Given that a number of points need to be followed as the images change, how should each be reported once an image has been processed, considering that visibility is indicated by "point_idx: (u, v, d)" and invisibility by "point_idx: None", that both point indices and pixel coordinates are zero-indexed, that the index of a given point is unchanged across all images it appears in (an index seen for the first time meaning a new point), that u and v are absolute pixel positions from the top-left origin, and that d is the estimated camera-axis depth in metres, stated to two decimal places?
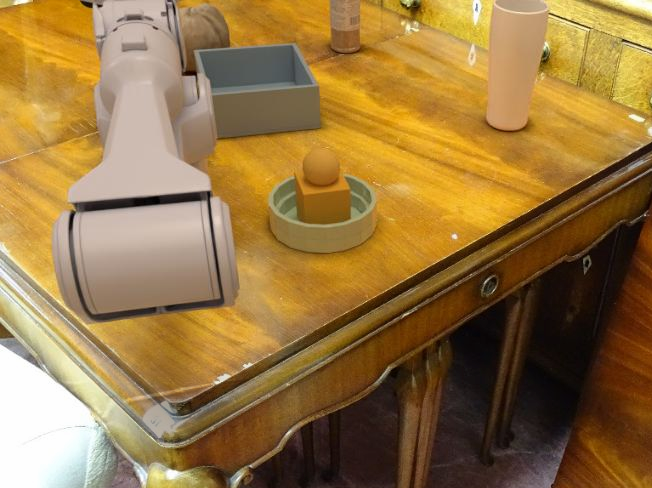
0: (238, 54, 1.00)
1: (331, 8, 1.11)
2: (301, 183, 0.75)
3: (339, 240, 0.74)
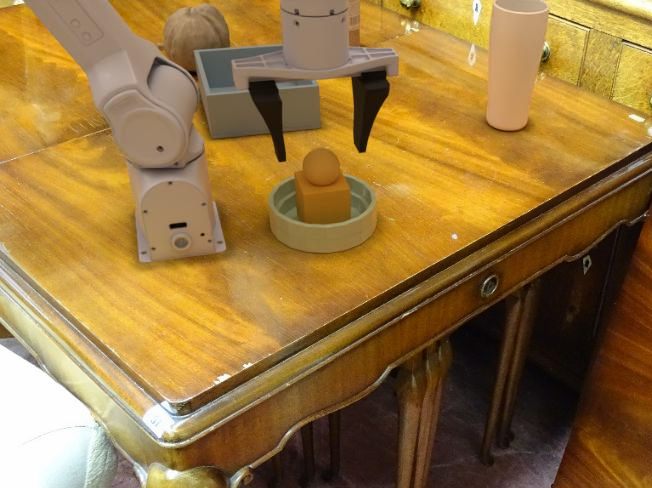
0: (238, 54, 1.00)
1: None
2: (301, 183, 0.75)
3: (339, 240, 0.74)
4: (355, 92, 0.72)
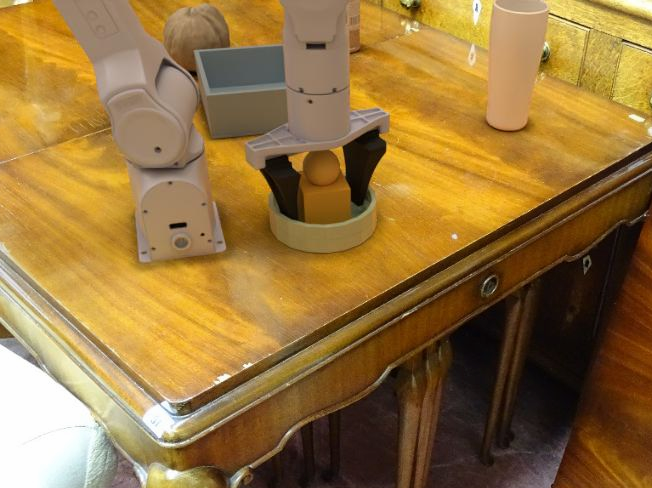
0: (238, 54, 1.00)
1: None
2: (301, 183, 0.75)
3: (339, 240, 0.74)
4: (348, 152, 0.77)
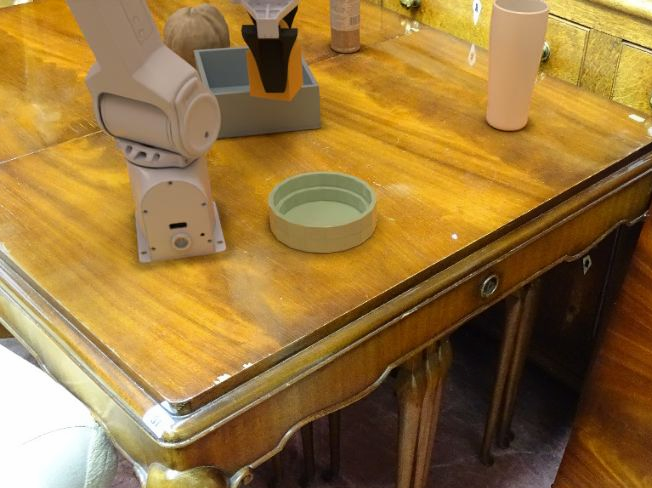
0: (238, 54, 1.00)
1: (331, 8, 1.11)
2: None
3: (339, 240, 0.74)
4: None
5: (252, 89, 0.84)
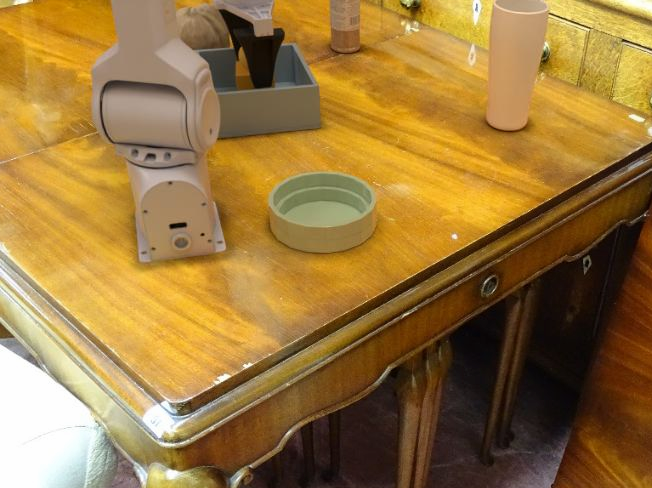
0: None
1: (331, 8, 1.11)
2: None
3: (339, 240, 0.74)
4: (236, 22, 0.95)
5: None
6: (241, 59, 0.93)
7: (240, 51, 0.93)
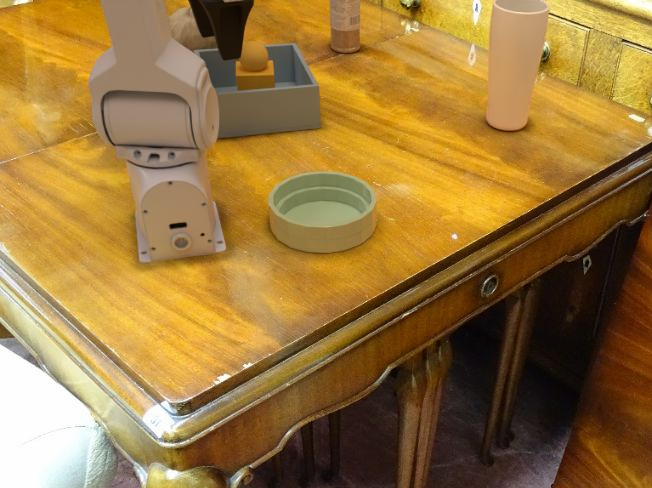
0: None
1: (331, 8, 1.11)
2: (256, 74, 0.94)
3: (339, 240, 0.74)
4: None
5: None
6: (241, 59, 0.93)
7: None
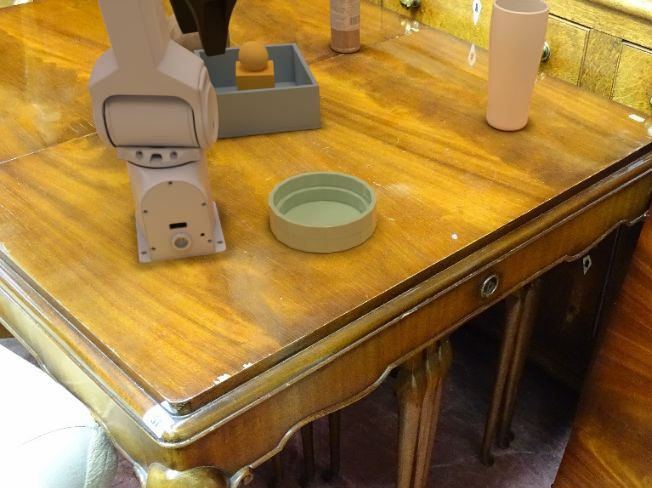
0: (238, 54, 1.00)
1: (331, 8, 1.11)
2: (256, 74, 0.94)
3: (339, 240, 0.74)
4: None
5: None
6: (241, 59, 0.93)
7: (240, 51, 0.93)
